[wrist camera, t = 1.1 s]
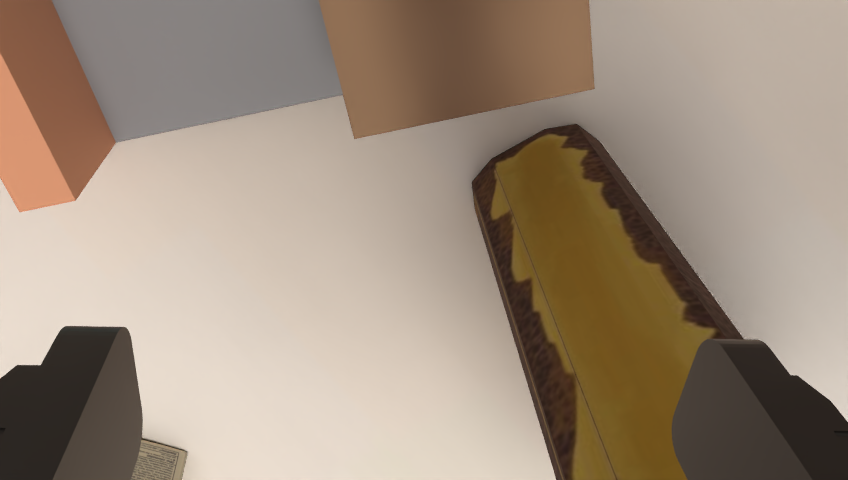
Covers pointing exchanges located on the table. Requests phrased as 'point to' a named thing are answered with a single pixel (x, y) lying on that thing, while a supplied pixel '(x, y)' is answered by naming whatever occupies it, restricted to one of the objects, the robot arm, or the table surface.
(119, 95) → the rail
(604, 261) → the book
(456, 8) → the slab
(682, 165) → the table surface
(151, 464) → the skincare box
